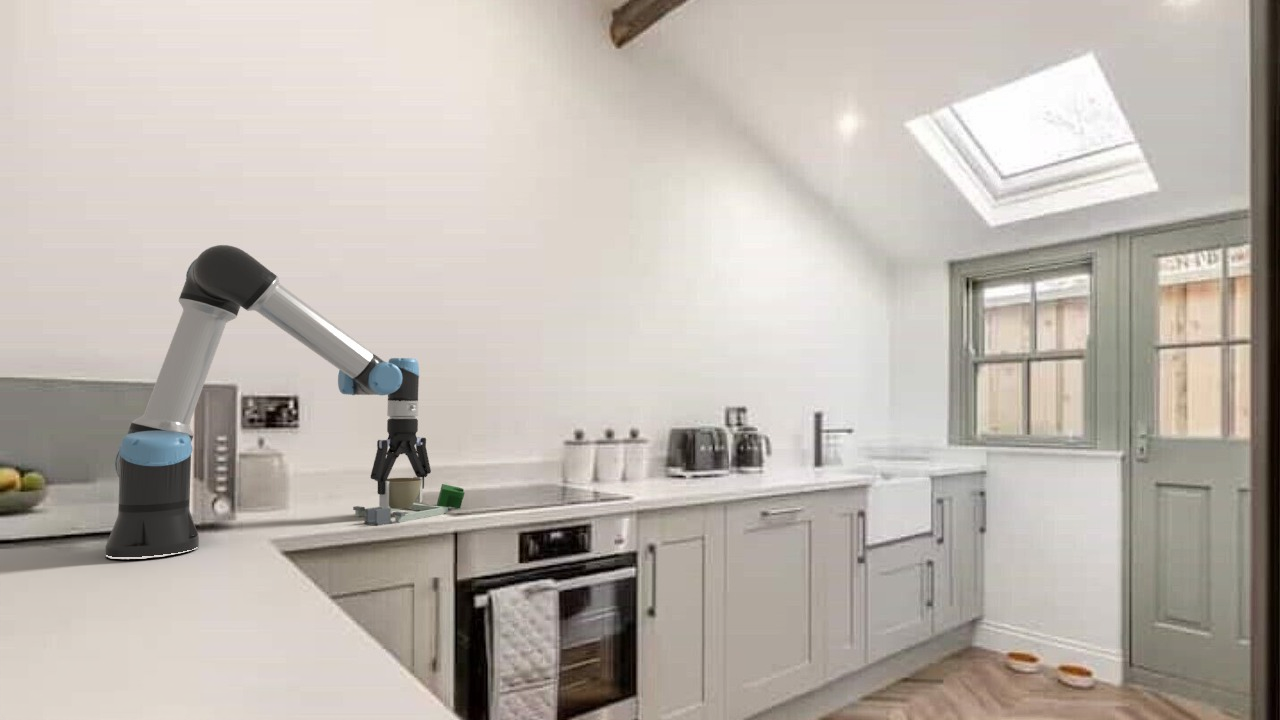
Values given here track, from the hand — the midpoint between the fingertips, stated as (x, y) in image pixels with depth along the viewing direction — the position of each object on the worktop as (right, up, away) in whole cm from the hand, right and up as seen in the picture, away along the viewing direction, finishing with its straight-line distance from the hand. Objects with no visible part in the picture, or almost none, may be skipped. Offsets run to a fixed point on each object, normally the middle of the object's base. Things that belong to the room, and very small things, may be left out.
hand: (401, 504), depth 184 cm
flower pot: (0, -1, 0) cm, 1 cm away
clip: (-1, -2, -12) cm, 12 cm away
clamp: (+9, -4, +12) cm, 16 cm away
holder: (0, -3, 0) cm, 3 cm away
